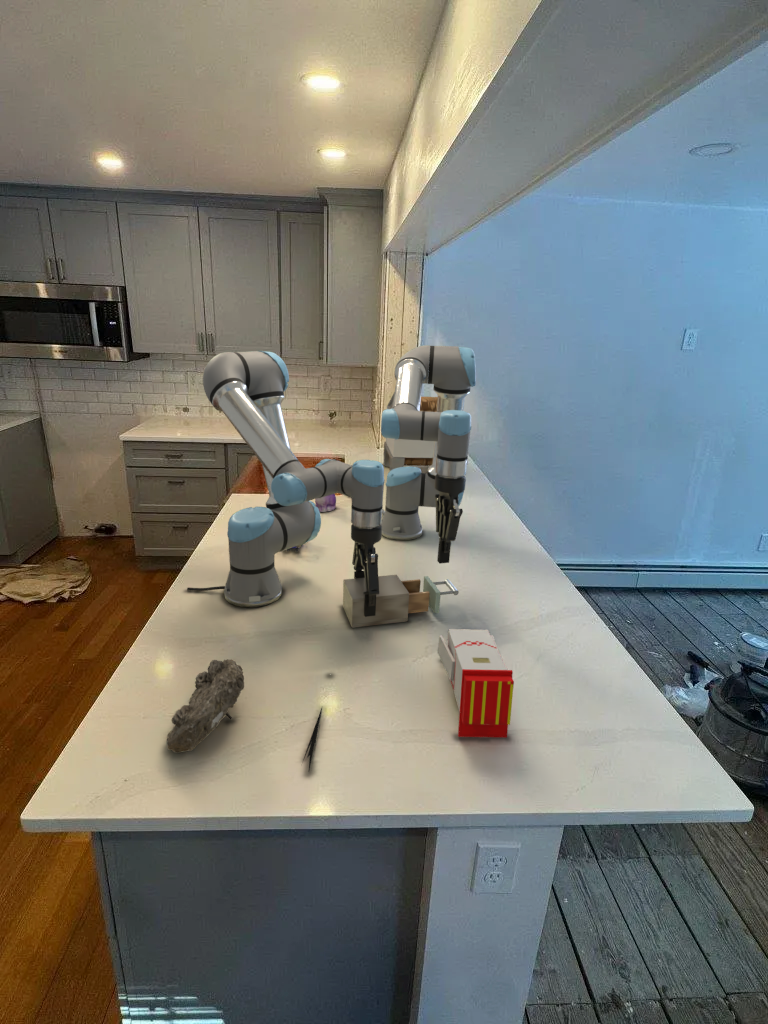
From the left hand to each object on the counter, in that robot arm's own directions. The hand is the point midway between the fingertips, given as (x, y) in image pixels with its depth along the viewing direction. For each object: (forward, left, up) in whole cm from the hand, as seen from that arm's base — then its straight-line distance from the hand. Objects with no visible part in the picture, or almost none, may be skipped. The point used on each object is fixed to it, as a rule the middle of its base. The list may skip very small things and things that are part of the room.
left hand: (364, 604), depth 145 cm
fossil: (-17, -46, -3) cm, 49 cm away
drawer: (+13, +8, -2) cm, 15 cm away
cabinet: (+2, +1, -3) cm, 4 cm away
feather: (+3, -40, -3) cm, 41 cm away
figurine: (-37, +73, -3) cm, 82 cm away
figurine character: (-34, +35, -3) cm, 49 cm away
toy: (+30, -23, -3) cm, 38 cm away
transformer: (-12, +138, -3) cm, 138 cm away
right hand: (+18, +10, +10) cm, 23 cm away
